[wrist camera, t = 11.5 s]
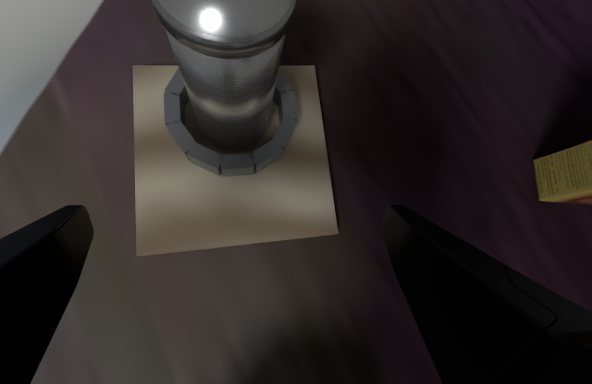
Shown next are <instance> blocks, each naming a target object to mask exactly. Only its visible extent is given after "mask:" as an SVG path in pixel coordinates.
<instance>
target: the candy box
mask: <svg viewBox="0 0 592 384" xmlns="http://www.w3.org/2000/svg"><path fill="white" fill-rule="evenodd" d="M533 165H534V171H535V180H536V186H537V193H538V199H539V200H540V201H549V202H566V203H578V204H592V140H590V141H587V142H584V143H582V144H579V145H576V146H573V147H570V148H567V149H565V150H562V151H559V152H556V153H553V154H550V155H547V156H544V157H541V158H538V159H535V160H533Z"/></svg>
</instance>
